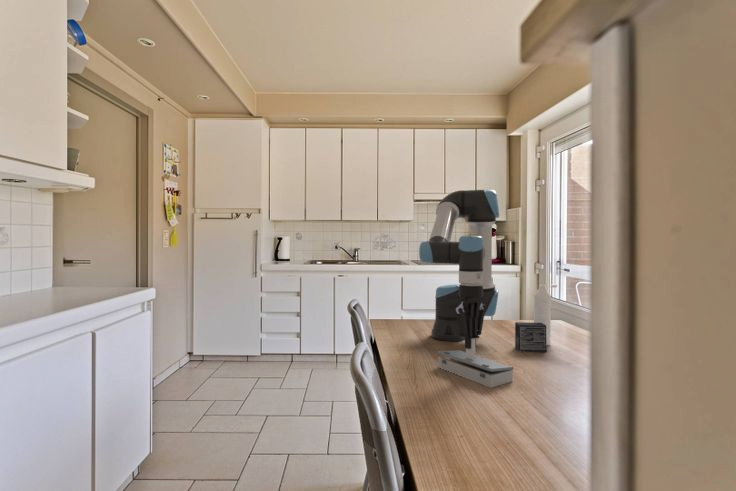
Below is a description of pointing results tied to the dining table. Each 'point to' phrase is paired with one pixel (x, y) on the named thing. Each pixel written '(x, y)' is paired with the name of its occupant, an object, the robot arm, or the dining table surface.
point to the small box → (530, 337)
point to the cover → (476, 361)
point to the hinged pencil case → (477, 373)
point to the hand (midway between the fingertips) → (470, 358)
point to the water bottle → (543, 309)
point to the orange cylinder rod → (463, 363)
